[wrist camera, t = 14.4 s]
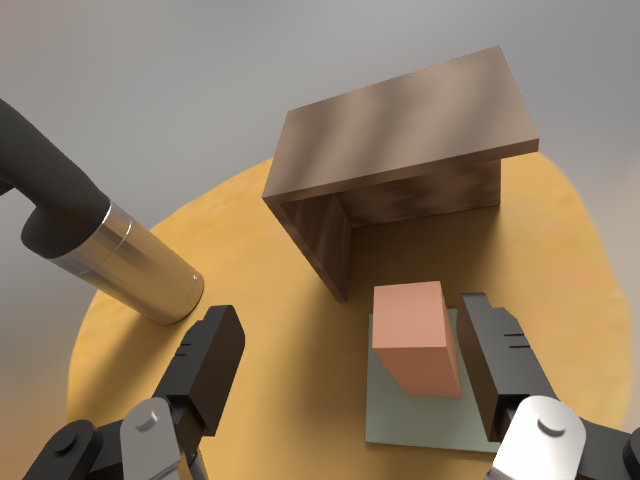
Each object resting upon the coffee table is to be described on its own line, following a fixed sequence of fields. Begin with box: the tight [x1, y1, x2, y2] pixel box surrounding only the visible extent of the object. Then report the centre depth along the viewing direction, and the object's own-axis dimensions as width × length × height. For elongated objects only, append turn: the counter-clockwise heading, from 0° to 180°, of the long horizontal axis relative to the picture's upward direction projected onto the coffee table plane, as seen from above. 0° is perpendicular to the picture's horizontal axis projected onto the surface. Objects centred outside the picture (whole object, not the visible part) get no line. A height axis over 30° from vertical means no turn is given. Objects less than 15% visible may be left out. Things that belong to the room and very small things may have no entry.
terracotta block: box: [372, 281, 462, 399], centre depth 27 cm, size 4×4×12 cm
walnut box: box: [262, 45, 539, 302], centre depth 33 cm, size 19×12×18 cm, turn 83°
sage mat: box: [365, 308, 501, 453], centre depth 31 cm, size 11×12×1 cm
